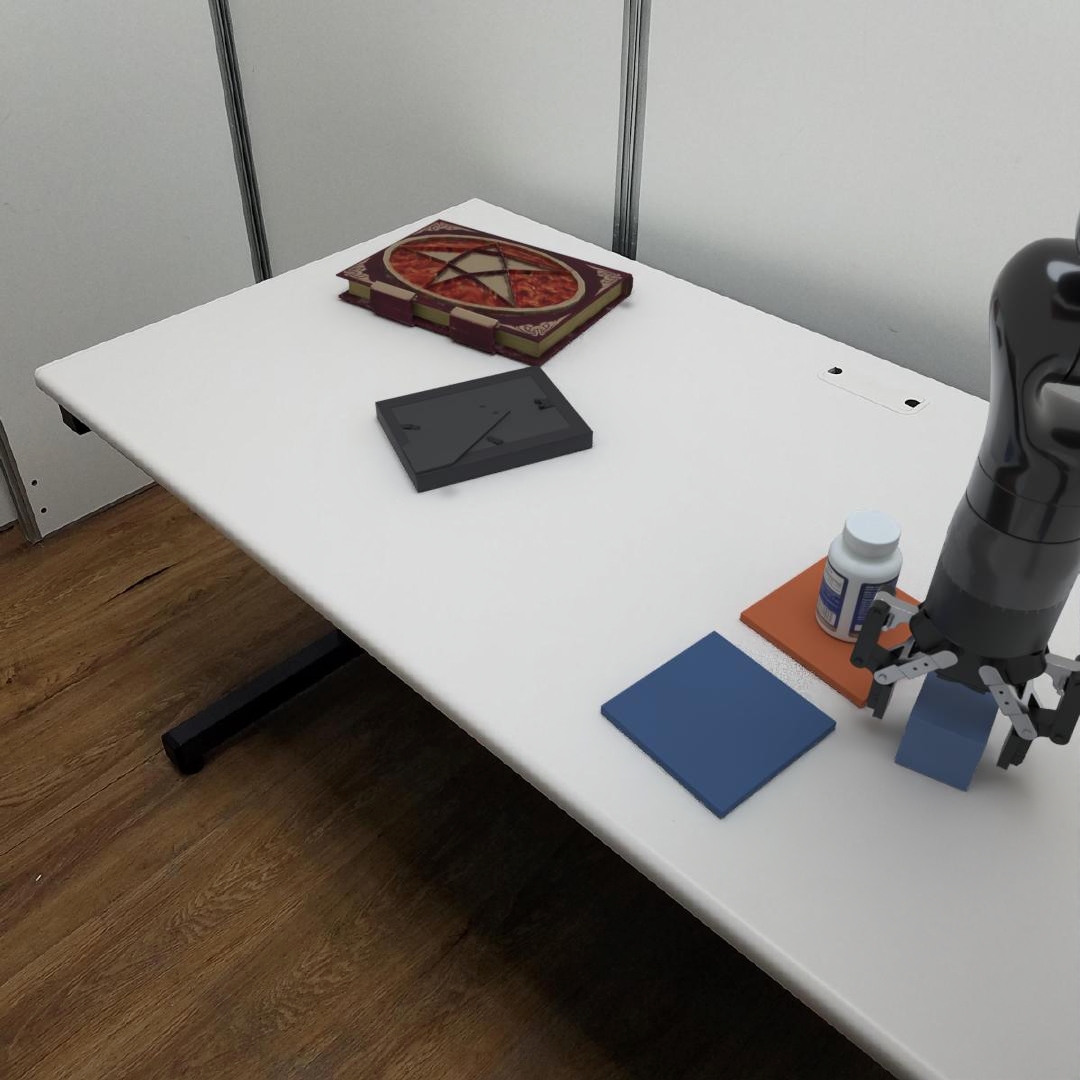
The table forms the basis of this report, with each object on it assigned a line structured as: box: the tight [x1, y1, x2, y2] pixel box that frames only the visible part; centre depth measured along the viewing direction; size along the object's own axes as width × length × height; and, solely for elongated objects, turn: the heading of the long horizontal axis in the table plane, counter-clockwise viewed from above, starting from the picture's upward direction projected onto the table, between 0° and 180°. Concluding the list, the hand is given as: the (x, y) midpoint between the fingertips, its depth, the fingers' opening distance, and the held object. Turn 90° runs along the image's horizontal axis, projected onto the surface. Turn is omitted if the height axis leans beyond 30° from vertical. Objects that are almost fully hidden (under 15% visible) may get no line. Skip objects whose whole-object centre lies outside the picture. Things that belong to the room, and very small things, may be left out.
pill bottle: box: [816, 509, 904, 642], centre depth 81 cm, size 5×5×10 cm
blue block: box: [893, 671, 1000, 792], centre depth 74 cm, size 5×5×5 cm
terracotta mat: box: [739, 554, 922, 709], centre depth 84 cm, size 12×12×1 cm
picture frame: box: [374, 365, 594, 493], centre depth 104 cm, size 13×2×18 cm
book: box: [335, 218, 634, 366], centre depth 125 cm, size 28×21×5 cm
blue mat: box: [600, 630, 838, 820], centre depth 77 cm, size 12×12×1 cm
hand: (941, 734), depth 74 cm, fingers open, 8 cm apart
